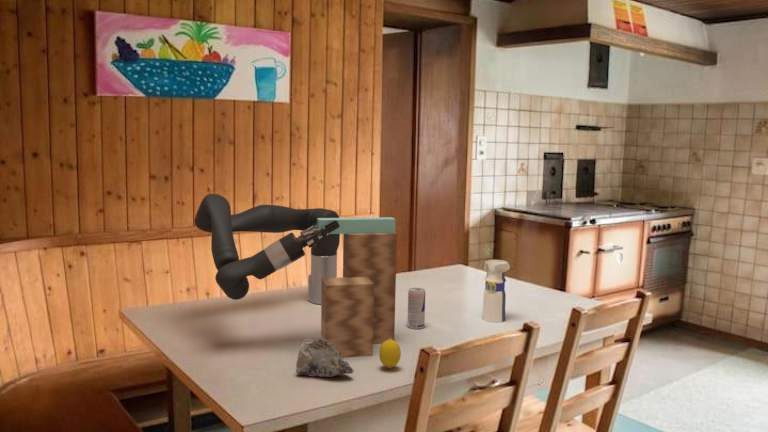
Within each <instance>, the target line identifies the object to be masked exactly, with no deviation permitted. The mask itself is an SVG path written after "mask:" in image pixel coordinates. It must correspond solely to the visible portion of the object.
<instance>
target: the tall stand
mask: <svg viewBox="0 0 768 432" xmlns="http://www.w3.org/2000/svg"><path fill="white" fill-rule="evenodd" d="M342 235H343V237H342V239H343V241H342V245H343V246H342V250H343V252H342V253H343V254H342V277H368V278H369V279H370V280H371V281H372V282H373V283H374V317H373V345H377V344H379V345H380V344H382V343H383V342H385V341H386V340H389V339H392V340H394V341H395V331H396V330H395V329H396V326H395V325H396V323H395V322H396V320H395V319H396V289H397V288H396V287H397V285H396V283H397V249H398V248H397V241H398V239H397V238H398V234H397V232H395V233H363V234H342Z"/></svg>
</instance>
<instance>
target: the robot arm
mask: <svg viewBox="0 0 768 432" xmlns="http://www.w3.org/2000/svg"><path fill="white" fill-rule="evenodd" d="M317 218H340V216H339V214H338V213H337V212H336V211H335V210H333V209H327V208H322V207H321V208H318V207H317V208H292V207H288V206H283V205H275V204H259V205H257V206H253V207H250V208H249V209H246V210H244V211H242V212H239V213H235V214H232V210H231V204H230V201H229V200H227V199H226V197H224V196H223V195H221V194H219V193H218V194H217V193H209V194H206V195H205V196H204V197H203V198H202V199H201V202H200V204H199V206H198V209H197V211H196V213H195V217H194V220H193V221H194V225H195V227H196V228H197V229H198V230H200V231H203V232H204V233H205V232H206V233H210V234H211V240H210V241H211V243H210V245H211V247H210V248H211V255H212V260H213V263H214V266H215V268H216V270H217V271H216V274H215V277H214V278H215V279H214V280H215V281H216V282H215V283H216V284H217V285H218V287H219V288H220V289H221V290H222V291H223V293H224V294H225V296H226V297H228V298H229V299H230V300H234V301H236V300H241V299H243V298H245V297H246V296H247V294H248V292H249V289H250V283H249V279H248V277H250V276H253V277H254V278H256V279H258V280H263V279H265V278H267V277H268V276H271V275H272V274H274V273H275V272H277V271H279V270H281V269H284V268H285V267H288V266H289V265H291V264H293V263H294V262H296V261H298V260H299V259H301V258H302V257H304V256H305V255H306V253H305V248H306V247H308V248H310V274H308V276H307V277H308V278H307V279H308V280H307V281H308V282H307V283H308V285H307V286H308V289H307V290H308V292H307V294H308V295H307V297H308V298H307V301H308V302H310V303H312V304H316V305H321V294H322V278H338V277H337V275H338V272H337V271H338V270H337V269H338V267H337V266H338V248H339V247H340V241H341V239H340V238H341V234H328V233H330V232H332V231H334V230H335V229H337V228H339V224H338V222H337V221H336V220H335V221H333V222H331V223H329V224H328V225H326V226H325V227H322V228H320V229H317ZM291 231H300V232H299V233H300V235H299V236H297V237H296V235H295V234H294V232H291ZM237 232H239V233H240V232H243V233H244V232H248V233H249V232H251V233H253V232H254V233H258V232H259V233H269V234H270V233H271V234H273V233H274V234H276V233H278V234H279V233H287V232H290V233H288V234H286V235H284V236H283V237H281V238H279V239H277V240H276V241H274V242H273V243H270V244H269V245H268V246H267V247H265V248H264V249H262V250H260V251H258V252H256V253H255V254H253V255H252V256H249V257H246V258H245V257H244V258H243V259H242V258H241V259H240V258H239V257H240V256H239V253H238V250H237V249H238V248H237V247H236V243H235V242H236V241H235V239H234V233H237ZM320 233H321V234H320Z"/></svg>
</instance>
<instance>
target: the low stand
mask: <svg viewBox="0 0 768 432" xmlns="http://www.w3.org/2000/svg"><path fill="white" fill-rule="evenodd" d="M320 305H321V311H320V312H321V313H320V315H321V318H320V322H321V323H320V325H321V327H320V337H322V338H323V339H324V340H326V341H328V342H330V343H331V344H333V345H334V346H335V347H336V348H337V350H338V352H339V355H340V356H341V357H342V358H351V357H365V356H367V357H368V356H370V357H371V356H373V355H374V354H373V353H374V344H373V317H374V283H373V282H372V281H371V280H370V279H369V278H368V277H343V276H342V277H337V278H322V294H321V304H320Z"/></svg>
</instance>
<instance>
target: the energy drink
mask: <svg viewBox="0 0 768 432" xmlns="http://www.w3.org/2000/svg"><path fill="white" fill-rule="evenodd" d="M425 316H426V289H424V288H421V287H409V289H408V291H407V322H406V323H407V325H406V326H407V327H408V328H409V329H413V330H422V329H424V328H425V318H426V317H425Z"/></svg>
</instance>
